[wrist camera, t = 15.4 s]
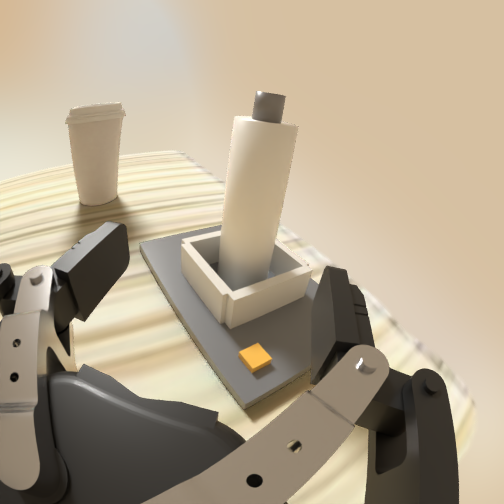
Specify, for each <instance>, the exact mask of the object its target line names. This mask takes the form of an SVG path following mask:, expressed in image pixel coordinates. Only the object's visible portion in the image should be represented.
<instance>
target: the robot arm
mask: <svg viewBox="0 0 504 504" xmlns="http://www.w3.org/2000/svg"><path fill="white" fill-rule="evenodd" d="M129 259H130V256H129V247H128V239H127V229H126V226H125V225H124V224H122V223H117V222H112V221H107V222H105V223H104V224H103V225H102V226H100V227H99V228H98V229H97V230H96V231H94V232H92V233H89V234H87V235H85V236H84V237H83V238H82V239H81V240H80V241H78V243H76V244H75V245H74V246H73V247H72V249H69V250H68V251H67V252H66V253H65V254H64V255H62V256H61V257H60V258H59V259H58V260H57V261H56V262H55V263H54V264H53V265H52V266H51V267H48V266H44V265H41V266H36V267H34V268H32V269H30V270H28V271H27V272H26V273H25V274H24V275H23V276H14V274H13V272H12V269H11V267H10V265H9V264H6V263H2V264H0V313H1V314H2V316H3V319H2V320H1V322H0V504H288V503H287V502H286V501H287V500H288V499H289V498H290V497H291V496H293V495H294V494H295V493H296V492H297V491H298V490H299V489H300V488H301V487H302V486H303V485H304V484H305V483H306V482H307V481H308V480H309V479H310V478H311V477H312V476H313V475H314V474H315V473H316V472H317V471H318V470H319V469H320V468H321V467H322V466H323V465H324V464H325V463H326V461H327V460H328V459H329V458H330V457H331V456H332V455H333V454H334V453H335V451H336V450H337V449H338V448H339V447H340V446H341V444H342V443H343V442H344V441H345V440H346V438H347V437H348V436H349V435H350V433H351V432H352V430H353V429H354V427H355V426H354V424H356V425H358V426H361V427H364V428H367V429H369V440H368V467H367V482H366V494H365V503H364V504H459V478H458V461H457V450H456V441H455V433H454V426H453V420H452V414H451V408H450V403H449V398H448V393H447V389H446V385H445V383H444V381H443V379H442V378H441V376H440V375H439V374H438V373H436V372H435V371H433V370H430V369H420V370H418V371H416V372H415V374H414V375H413V376H409V375H406V374H404V373H401V372H398V371H396V370H393V369H391V368H390V367H389V363H388V360H387V359H386V357H385V356H384V354H383V353H382V352H380V351H379V350H378V349H376V348H375V345H374V340H373V335H372V330H371V325H370V320H369V317H368V311H367V308H366V303H365V299H364V295H363V294H362V292H361V291H360V290H359V288H358V287H357V285H352V284H349V279H348V275H347V271H346V270H345V269H340V268H336V267H331V266H326V267H325V269H324V272H323V275H322V278H321V280H320V283H319V286H318V289H317V291H316V294H315V297H314V300H313V304H312V311H311V384H314V385H316V386H315V387H314V388H313V389H312V390H310V391H309V390H308V391H306V392H305V393H303V394H302V395H301V396H300V397H299V398H298V399H297V400H296V401H294V402H293V403H292V404H291V405H290V406H289V407H288V408H287V409H285V410H284V411H283V412H282V413H281V414H280V415H279V416H277V417H276V418H275V419H274V420H273V421H271V422H270V423H269V424H268V425H267V426H265V427H264V428H263V429H262V430H260V431H259V432H258V433H257V434H255V435H254V436H253V437H252V438H250V439H249V440H248V441H246V440H245V439H244V438H243V437H242V436H240V435H239V434H238V433H237V432H235V431H234V430H233V429H231V428H230V427H228V426H226V425H225V424H223V423H221V422H219V421H218V412H216V411H212V410H208V409H204V408H200V407H197V406H193V405H190V404H186V403H183V402H176V401H164V400H154V399H146V398H141V397H139V396H137V395H135V394H134V393H133V392H131V391H130V390H128V389H127V388H126V387H124V386H123V385H122V384H120V383H119V382H118V381H116V380H115V379H114V378H112V377H111V376H109V375H107V374H104V373H102V372H100V371H98V370H96V369H93V368H91V367H89V366H87V365H85V364H83V365H82V367H81V369H80V370H79V372H78V371H77V368H76V363H75V353H74V336H73V324H72V322H71V321H72V319H73V318H74V317H75V318H77V319H79V320H81V321H84V322H85V321H86V319H87V318H88V317H89V315H90V314H91V313H92V312H93V310H94V309H95V308H96V306H97V305H98V304H99V303H100V301H101V300H102V299H103V297H104V296H105V295H106V294H107V292H108V291H109V290H110V289H111V287H112V286H113V285H114V284H115V283H116V281H117V280H118V279H119V278H120V277H121V275H122V274H123V273H124V272H125V271H126V269H127V267H128V264H129Z"/></svg>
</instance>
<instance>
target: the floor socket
mask: <svg viewBox="0 0 504 504" xmlns="http://www.w3.org/2000/svg"><path fill="white" fill-rule="evenodd" d="M221 227H222V225H219V226H214V227H209V228H204V229H200V230H195V231H190V232H186V233H181V234H177V235H172V236H168V237H163V238H159V239H154V240H150V241H146V242H141V243H139V244H140V252H141V253H142V255H143V257H144V259H145V261H146V263H147V265H148V266H149V268H150V270H151V272H152V274H153V275H154V277H155V279H156V281H157V282H158V284H159V286H160V288H161V289H162V291H163V293H164V294H165V296H166V298H167V299H168V301H169V303H170V304H171V306H172V308H173V309H174V311H175V313H176V314H177V316H178V317H179V319H180V321H181V322H182V324H183V325H184V327H185V329H186V330H187V332H188V333H189V335H190V336H191V338H192V339H193V341H194V342H195V344H196V345H197V347H198V348H199V350H200V351H201V353H202V354H203V356H204V357H205V359H206V360H207V361H208V363H209V364H210V366H211V367H212V369H213V370H214V371H215V373H216V374H217V376H218V377H219V378H220V380H221V381H222V382H223V384H224V385H225V386H226V388H227V389H228V390H229V392H230V393H231V394H232V396H233V397H234V398H235V400H236V401H237V402H238V404H239V405H240V406H241V407H242V409H243V410H244V409H246V408H248V407H250V406H252V405H254V404H255V403H257V402H259V401H261V400H262V399H264V398H266V397H267V396H269V395H271V394H273V393H274V392H276V391H277V390H279V389H281V388H282V387H284V386H286V385H287V384H289V383H290V382H292V381H293V380H295V379H297V378H298V377H300V376H301V375H303V374H304V373H306V372H307V371H309V370H310V369H311V311H312V304H313V300H314V297H315V294H316V291H317V289H318V286H319V284H317V283H316V282H315V281H314V280H312V279H311V278H310V277H311V274H312V271H313V270H312V269H311V268H310V267H308V266H309V263H308V262H307V261H305V260H304V259H303V258H301V257H300V256H299V255H298V254H296V253H295V252H294V251H292V250H291V249H290V248H288V247H287V246H286V245H284V244H283V243H282V242H280V241H279V240H278V239H276V240H275V245H274V250H273V254H272V259H271V263H270V268H269V273H268V277H267V279H266V280H264V281H261V282H258V283H255V284H253V285H250V286H247V287H244V288H241V289H239V290H236V291H232V290H231V289H230V288H229V287H228V286H227V285H226V284H225V283H224V281H223V280H222V279H221V278H220V277H219V276H218V275H217V271H218V260H219V248H220V238H221Z"/></svg>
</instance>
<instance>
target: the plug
mask: <svg viewBox="0 0 504 504" xmlns="http://www.w3.org/2000/svg"><path fill="white" fill-rule="evenodd" d="M284 103H285V96H283V95H278V94H271V93H265V92H257V91H256V95H255V102H254V108H253V115H252V117H250V116H235V117H234V124H233V130H232V138H231V146H230V154H229V162H228V171H227V180H226V189H225V198H224V207H223V217H222V227H221V238H220V248H219V260H218V271H217V275H218V276H219V277H220V278H221V279H222V280H223V281H224V283H225V284H226V285H227V286H228V287H229V288H230V289H231V290H232V291H236V290H239V289H241V288H244V287H247V286H250V285H253V284H255V283H258V282H261V281H264V280H266V279H267V277H268V273H269V268H270V263H271V259H272V254H273V250H274V245H275V240H276V236H277V231H278V226H279V221H280V216H281V212H282V207H283V202H284V197H285V192H286V187H287V183H288V178H289V172H290V168H291V162H292V157H293V152H294V147H295V142H296V136H297V131H298V126H296V125H293V124H290V123H287V122H282V121H281V120H282V114H283V109H284Z"/></svg>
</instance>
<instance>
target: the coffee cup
mask: <svg viewBox="0 0 504 504" xmlns="http://www.w3.org/2000/svg"><path fill="white" fill-rule="evenodd" d="M124 116H126V114H125V111H124V109H122V105H121V102H113V103H101V104H92V105H85V106H79V107H75V108H71V110H70V113H69V115H68V116H67V119H66V122H65V124H68V128H69V137H70V145H71V153H72V159H73V166H74V173H75V178H76V184H77V189H78V194H79V199H80V202H81V203H82V204H83V205H87V206H96V205H102V204H105V203H108V202H110V201H112V200H114V199H115V198H116V197H117V181H118V161H119V145H120V135H121V127H122V119H123V117H124Z"/></svg>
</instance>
